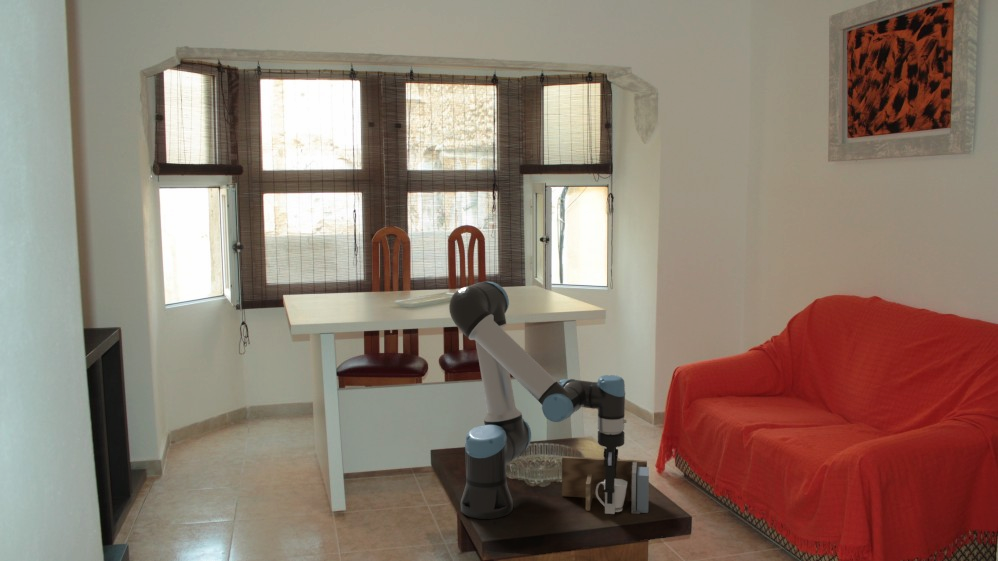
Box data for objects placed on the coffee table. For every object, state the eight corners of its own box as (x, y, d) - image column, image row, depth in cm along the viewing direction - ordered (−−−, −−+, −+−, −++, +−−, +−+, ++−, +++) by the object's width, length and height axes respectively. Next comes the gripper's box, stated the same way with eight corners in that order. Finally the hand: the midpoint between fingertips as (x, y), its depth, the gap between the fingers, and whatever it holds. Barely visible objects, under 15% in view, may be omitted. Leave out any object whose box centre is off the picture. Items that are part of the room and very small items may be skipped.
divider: (585, 510, 238) (585, 483, 237) (588, 499, 246) (588, 473, 245) (589, 510, 238) (590, 483, 237) (592, 499, 246) (592, 473, 245)
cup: (619, 515, 231) (619, 486, 231) (589, 507, 238) (589, 479, 237) (632, 509, 237) (632, 481, 236) (602, 501, 243) (602, 474, 243)
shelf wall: (562, 496, 249) (562, 457, 247) (562, 494, 250) (562, 456, 248) (646, 501, 244) (646, 462, 242) (646, 499, 245) (647, 460, 244)
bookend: (631, 513, 236) (631, 472, 234) (632, 500, 244) (632, 461, 243) (639, 513, 235) (640, 473, 234) (640, 501, 244) (641, 462, 242)
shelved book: (636, 512, 236) (637, 475, 235) (637, 502, 243) (637, 466, 242) (648, 512, 236) (648, 475, 234) (648, 503, 243) (648, 467, 241)
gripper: (623, 442, 224) (622, 523, 227) (625, 420, 243) (625, 496, 246) (595, 440, 225) (594, 521, 228) (600, 419, 244) (599, 494, 247)
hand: (610, 508), depth 237 cm, fingers closed on cup, 6 cm apart
